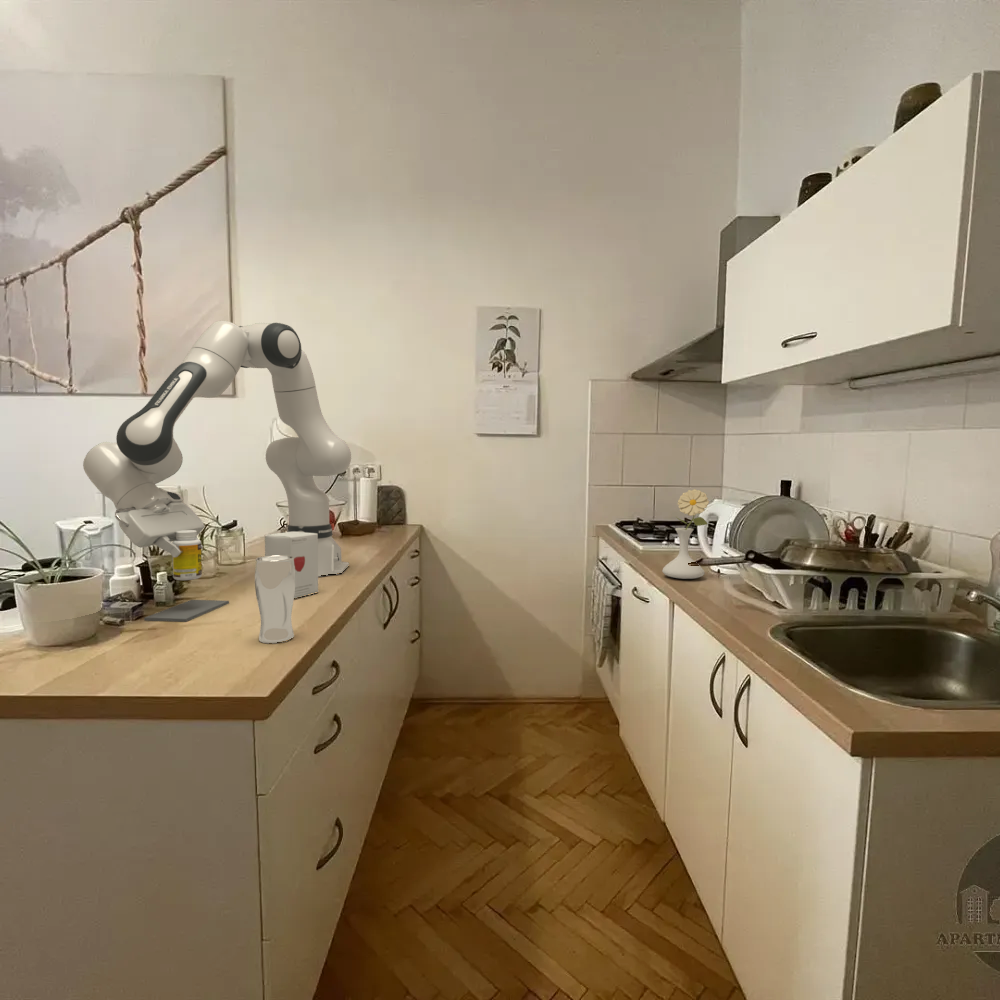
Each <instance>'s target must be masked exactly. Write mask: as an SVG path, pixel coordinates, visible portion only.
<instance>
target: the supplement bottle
mask: <svg viewBox="0 0 1000 1000" xmlns="http://www.w3.org/2000/svg"><path fill="white" fill-rule="evenodd" d="M196 538H198V535H197V531H196V530H183V531H177V532H176V539H177V540H175V541H172V542H171V543H173V544H174V545H176V546H180V547H181V549H182V550H183V551H184V552H183V554H181V556H179V557H173V556H172V555H171V557H172V578H173V579H174V580H176V581H193V580H197V579H200V578H201V577H202V575H203V565H202V563H203V561H202V549H201V545H202V541H201V540H200V539H199V538H198V539H196Z"/></svg>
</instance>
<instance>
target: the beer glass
mask: <svg viewBox="0 0 1000 1000" xmlns="http://www.w3.org/2000/svg"><path fill="white" fill-rule="evenodd" d="M254 589H255V590H254V591H255V596H256V601H257V607H258V610H259V615H260V616H259V617H260V628H259V634H258V635H259V636H258V641H259V642H260V643H263V644H269V643H272V644H278V643H277V642H282V641H286V640H289V639H291V638H293V637H294V638H295V634H294V633H295V632H294V628H293V625H292V611H293V606H294V600H295V599H294V594H295V566H294V557H293V556H289V555H271V556H265V555H264V556H259V557H256V558H255V565H254ZM294 638H293V639H294ZM289 641H290V640H289ZM286 642H287V641H286ZM282 643H283V642H282Z"/></svg>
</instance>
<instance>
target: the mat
mask: <svg viewBox="0 0 1000 1000" xmlns="http://www.w3.org/2000/svg"><path fill="white" fill-rule="evenodd" d="M229 604H230V600H218V599H217V600H216V599H214V600H211V599H209V600H208V599H190V600H186V601H185V602H181V603H179V604H176V605H174V606H171V607H169V608H167V609H164V610H161V611H157V612H155V613H153V614H150V615H148V616H145V617H144V621H146V622H147V621H148V622H149V621H150V622H174V623H175V622H180V623H186V622H189V621H192V620H194V619H195V618H199V617H201V616H203V615H205V614H208V613H210V612H212V611H215V610H217V609H219V608H221V607H223V606H227V605H229Z"/></svg>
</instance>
